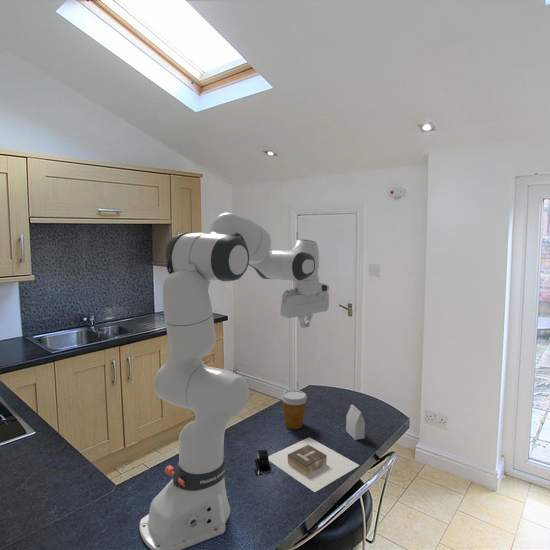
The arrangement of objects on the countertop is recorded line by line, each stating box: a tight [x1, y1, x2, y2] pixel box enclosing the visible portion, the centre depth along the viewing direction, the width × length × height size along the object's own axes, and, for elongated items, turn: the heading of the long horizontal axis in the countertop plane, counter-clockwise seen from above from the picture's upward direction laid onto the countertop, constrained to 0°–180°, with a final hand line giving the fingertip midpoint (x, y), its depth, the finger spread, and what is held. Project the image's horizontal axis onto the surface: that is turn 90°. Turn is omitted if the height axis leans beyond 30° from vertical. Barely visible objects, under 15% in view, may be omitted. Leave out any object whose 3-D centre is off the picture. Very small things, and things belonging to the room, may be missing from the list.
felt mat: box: [268, 436, 360, 493], centre depth 127 cm, size 20×22×1 cm
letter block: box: [288, 445, 327, 475], centre depth 126 cm, size 3×8×9 cm
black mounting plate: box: [254, 449, 272, 476], centre depth 125 cm, size 12×7×5 cm, turn 11°
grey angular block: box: [345, 404, 366, 441], centre depth 144 cm, size 4×7×10 cm, turn 18°
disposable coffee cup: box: [281, 389, 308, 430], centre depth 150 cm, size 10×10×12 cm
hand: (305, 327), depth 140 cm, fingers closed
